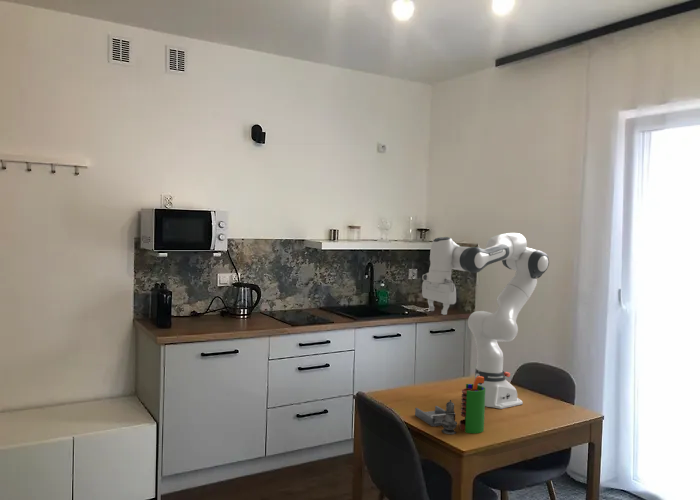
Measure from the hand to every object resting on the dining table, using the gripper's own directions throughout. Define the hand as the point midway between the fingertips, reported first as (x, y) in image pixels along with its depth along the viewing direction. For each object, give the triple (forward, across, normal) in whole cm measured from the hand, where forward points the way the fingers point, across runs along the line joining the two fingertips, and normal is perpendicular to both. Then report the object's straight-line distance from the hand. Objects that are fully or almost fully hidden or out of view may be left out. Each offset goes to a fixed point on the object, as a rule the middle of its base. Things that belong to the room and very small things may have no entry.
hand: (437, 312), depth 230 cm
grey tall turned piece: (+41, -19, +4) cm, 46 cm away
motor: (+41, -18, -6) cm, 46 cm away
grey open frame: (+41, -6, +2) cm, 42 cm away
